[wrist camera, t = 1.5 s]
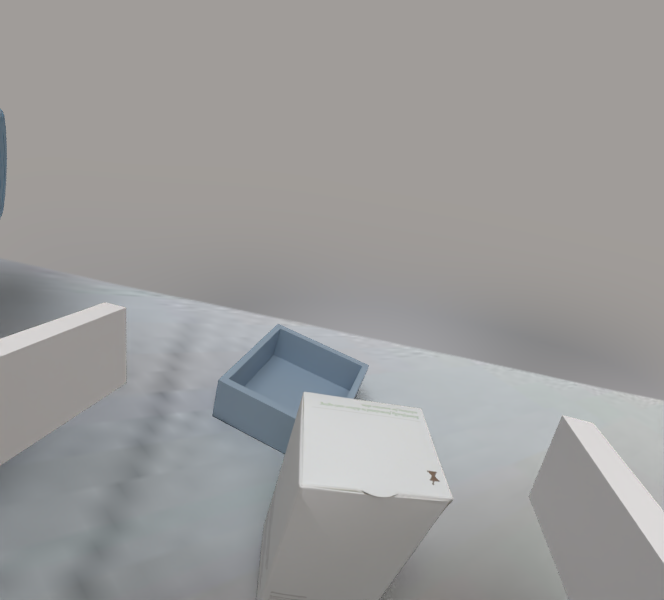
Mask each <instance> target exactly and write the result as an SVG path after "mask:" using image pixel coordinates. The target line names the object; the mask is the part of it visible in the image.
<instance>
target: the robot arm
mask: <svg viewBox="0 0 664 600" xmlns="http://www.w3.org/2000/svg"><path fill="white" fill-rule="evenodd" d="M6 147H7V146H6V126H5V118H4V114H3V111H2V110H1V109H0V218H1V216H2V213H3V207H4V200H5V188H6V166H7V165H6V164H7V148H6ZM126 383H127V376H126V307H122V306H118V305H114V304H110V303H106V302H104V303H101V304H99V305H96V306H93V307H90V308H87V309H84V310H81V311H78V312H76V313H73V314H70V315H67V316H64V317H61V318H58V319H55V320H53V321H50V322H47V323H44V324H41V325H38V326H35V327H32V328H29V329H27V330H24V331H21V332H18V333H15V334H12V335H9V336H6V337H4V338H1V339H0V466H1V465H2V464H4V463H5V462H7V461H8V460H10V459H11V458H13V457H14V456H16V455H17V454H19V453H20V452H22V451H23V450H25V449H27V448H28V447H30V446H31V445H33V444H34V443H36V442H37V441H39V440H40V439H42V438H43V437H45V436H46V435H48V434H49V433H51V432H52V431H54V430H55V429H57V428H59V427H60V426H62V425H63V424H65V423H66V422H68V421H69V420H71V419H72V418H74V417H75V416H77V415H78V414H80V413H81V412H83V411H84V410H86V409H87V408H89V407H91V406H92V405H94V404H95V403H97V402H98V401H100V400H101V399H103V398H104V397H106V396H107V395H109V394H110V393H112V392H113V391H115V390H116V389H118V388H120V387H121V386H123V385H124V384H126ZM529 498H530V501H531V504H532V506H533V509H534V511H535V514H536V516H537V519H538V522H539V524H540V527H541V529H542V532H543V534H544V537H545V540H546V542H547V545H548V547H549V550H550V552H551V555H552V558H553V560H554V563H555V565H556V568H557V571H558V573H559V576H560V578H561V581H562V583H563V586H564V589H565V591H566V594H567V596H568V599H569V600H664V511H663V510H662V508H661V507H660V506H659V505H658V503H657V502H656V501H655V500H654V498H653V497H652V496H651V495H650V493H649V492H648V491H647V490H646V488H645V487H644V486H643V485H642V483H641V482H640V481H639V480H638V478H637V477H636V476H635V475H634V473H633V472H632V471H631V470H630V468H629V467H628V466H627V465H626V463H625V462H624V461H623V460H622V458H621V457H620V456H619V454H618V453H617V452H616V451H615V449H614V448H613V447H612V446H611V444H610V443H609V442H608V441H607V439H606V438H605V437H604V436H603V434H602V433H601V432H600V431H599V429H598V428H597V427H596V426H595V424H594V423H591V422H587V421H583V420H579V419H575V418H571V417H567V416H563V415H562V417H561V420H560V422H559V425H558V427H557V429H556V432H555V434H554V437H553V439H552V441H551V444H550V446H549V449H548V451H547V453H546V456H545V458H544V461H543V463H542V465H541V468H540V470H539V473H538V475H537V477H536V480H535V482H534V484H533V487H532V489H531V492H530V494H529Z"/></svg>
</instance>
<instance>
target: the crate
mask: <svg viewBox="0 0 664 600" xmlns="http://www.w3.org/2000/svg"><path fill="white" fill-rule="evenodd" d="M368 367H369V365H367V364H365V363H362V362H360V361H358V360H356V359H354V358H352V357H349V356H347V355H345V354H343V353H341V352H338V351H336V350H334V349H332V348H330V347H327V346H325V345H323V344H321V343H319V342H317V341H314V340H312V339H310V338H308V337H306V336H303V335H301V334H299V333H297V332H295V331H292V330H290V329H288V328H286V327H284V326H281V325H279V324H277V325H276V326H275V327H274V328H273V329H272V330H271V331H270V332H269V333H268V334H267V335H266V336H265V337H264V338H262V339H261V340H260V341H259V342H258V343H257V344H256V345H255V346H254V347H253V348H252V349H251V350H250V351H249V352H248V353H247V354H245V355H244V356H243V357H242V358H241V359H240V360H239V361H238V362H237V363H236V364H235V365H234V366H233V367H232V368H231V369H230V370H228V371H227V372H226V373H225V374H224V375H223V376H222V377H221V378H220V379H219V380H218V386H217V392H216V398H215V404H214V410H213V416H214V417H216V418H218V419H219V420H221V421H223V422H225V423H227V424H229V425H231V426H233V427H235V428H237V429H238V430H240V431H242V432H244V433H246V434H248V435H250V436H252V437H254V438H255V439H257V440H259V441H261V442H263V443H265V444H267V445H269V446H271V447H273V448H274V449H276V450H278V451H280V452H282V453H284V454H285V453H286V449H287V446H288V443H289V439H290V436H291V433H292V429H293V426H294V422H295V419H296V416H297V412H298V409H299V405H300V402H301V399H302V396H303V392H311V393H317V394H324V395H330V396H337V397H344V398H351V399H355V398H356V396H357V393H358V391H359V389H360V386H361V384H362V381H363V379H364V377H365V374H366V372H367V369H368Z"/></svg>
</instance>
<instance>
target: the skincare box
mask: <svg viewBox="0 0 664 600" xmlns="http://www.w3.org/2000/svg"><path fill="white" fill-rule="evenodd" d="M452 501H453V496H452V493H451V491H450V488H449V485H448V483H447V480H446V477H445V474H444V472H443V469H442V466H441V464H440V461H439V458H438V455H437V453H436V450H435V447H434V444H433V441H432V438H431V435H430V432H429V429H428V426H427V423H426V421H425V418H424V415H423V412H422V409H421V408H415V407H407V406H400V405H393V404H386V403H378V402H372V401H365V400H358V399H351V398H344V397H337V396H330V395H324V394H317V393H311V392H303V396H302V399H301V402H300V405H299V409H298V412H297V416H296V419H295V422H294V426H293V429H292V433H291V436H290V439H289V443H288V446H287V449H286V453H285V456H284V460H283V463H282V466H281V470H280V473H279V476H278V480H277V483H276V486H275V490H274V493H273V496H272V500H271V503H270V506H269V510H268V513H267V517H266V520H265V523H264V527H263V534H262V544H261V554H260V565H259V576H258V586H257V597H256V600H379V599H380V598H381V597H382V595H383V594H384V592H385V591H386V590H387V588H388V587H389V585H390V584H391V583H392V581H393V580H394V578H395V577H396V576H397V574H398V573H399V572H400V570H401V569H402V567H403V566H404V565H405V563H406V562H407V560H408V559H409V558H410V556H411V555H412V554H413V552H414V551H415V549H416V548H417V547H418V545H419V544H420V542H421V541H422V540H423V538H424V537H425V535H426V534H427V533H428V531H429V530H430V528H431V527H432V526H433V524H434V523H435V522H436V520H437V519H438V518H439V516H440V515H441V513H442V512H443V511H444V510H445V508H446V507H447V506H448V505H449V504H450V503H451V502H452Z"/></svg>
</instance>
